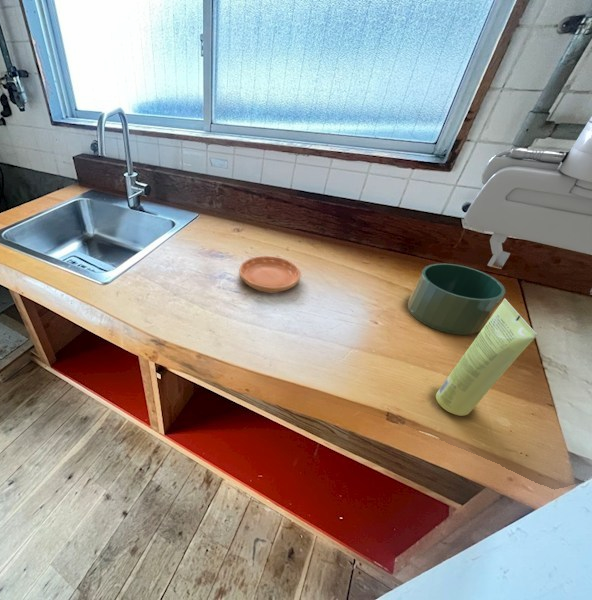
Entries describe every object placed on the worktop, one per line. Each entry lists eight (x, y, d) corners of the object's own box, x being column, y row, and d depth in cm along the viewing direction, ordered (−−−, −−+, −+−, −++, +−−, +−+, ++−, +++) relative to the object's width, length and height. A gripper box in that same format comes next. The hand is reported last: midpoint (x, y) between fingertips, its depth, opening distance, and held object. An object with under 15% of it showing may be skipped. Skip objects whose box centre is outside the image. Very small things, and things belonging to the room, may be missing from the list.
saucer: (311, 281, 85) (313, 271, 83) (270, 304, 78) (272, 294, 76) (266, 259, 96) (267, 250, 94) (226, 277, 88) (226, 268, 86)
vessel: (489, 312, 72) (511, 279, 67) (473, 344, 64) (497, 309, 59) (419, 288, 81) (433, 257, 75) (398, 314, 73) (412, 281, 68)
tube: (480, 410, 53) (557, 320, 41) (463, 425, 51) (538, 334, 39) (444, 386, 57) (504, 297, 45) (427, 399, 55) (485, 309, 43)
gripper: (490, 150, 35) (437, 260, 43) (843, 188, 23) (676, 330, 31) (502, 140, 39) (450, 244, 47) (814, 169, 26) (671, 302, 35)
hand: (543, 279), depth 39 cm, fingers open, 8 cm apart
